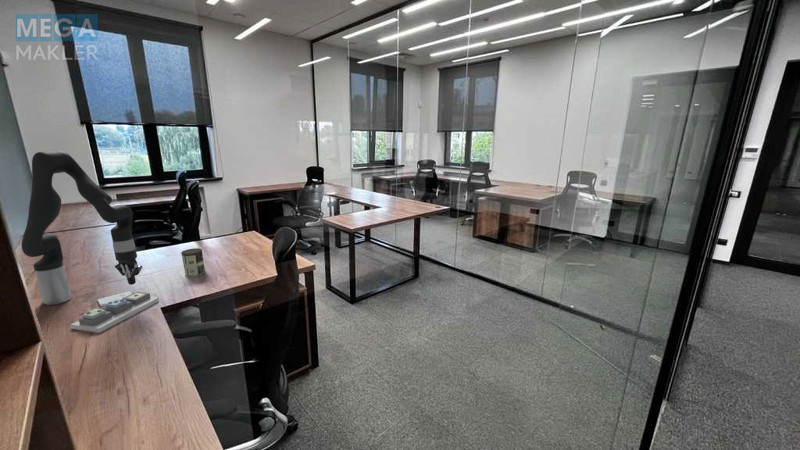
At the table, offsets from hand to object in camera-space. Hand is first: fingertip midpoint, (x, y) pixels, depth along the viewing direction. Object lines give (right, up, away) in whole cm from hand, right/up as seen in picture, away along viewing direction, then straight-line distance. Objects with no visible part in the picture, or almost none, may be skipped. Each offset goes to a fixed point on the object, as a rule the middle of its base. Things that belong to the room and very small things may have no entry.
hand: (132, 283), depth 149 cm
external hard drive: (-14, -10, +8) cm, 19 cm away
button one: (0, -8, +3) cm, 9 cm away
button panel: (-2, -13, -5) cm, 14 cm away
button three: (-2, -9, -6) cm, 11 cm away
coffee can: (+5, -1, +39) cm, 39 cm away
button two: (-3, -12, -15) cm, 19 cm away
